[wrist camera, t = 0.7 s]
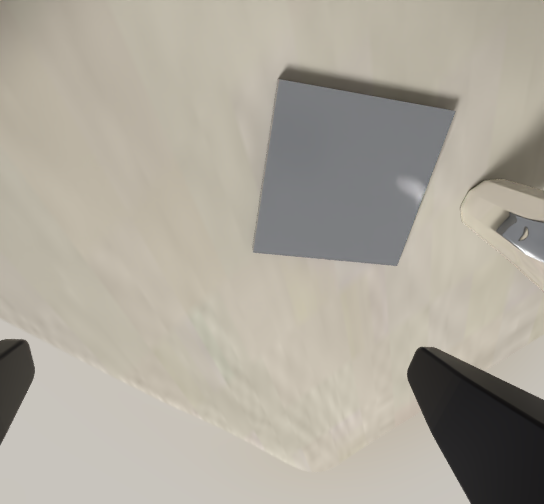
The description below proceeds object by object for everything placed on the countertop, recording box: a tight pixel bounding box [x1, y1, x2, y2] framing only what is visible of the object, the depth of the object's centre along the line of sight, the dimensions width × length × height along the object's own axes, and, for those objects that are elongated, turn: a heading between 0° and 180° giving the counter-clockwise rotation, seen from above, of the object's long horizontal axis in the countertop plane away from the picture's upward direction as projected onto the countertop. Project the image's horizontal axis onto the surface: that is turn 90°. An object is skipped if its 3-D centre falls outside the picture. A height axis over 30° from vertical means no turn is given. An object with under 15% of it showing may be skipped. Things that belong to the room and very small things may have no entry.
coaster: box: [253, 79, 455, 266], centre depth 18 cm, size 9×9×1 cm
